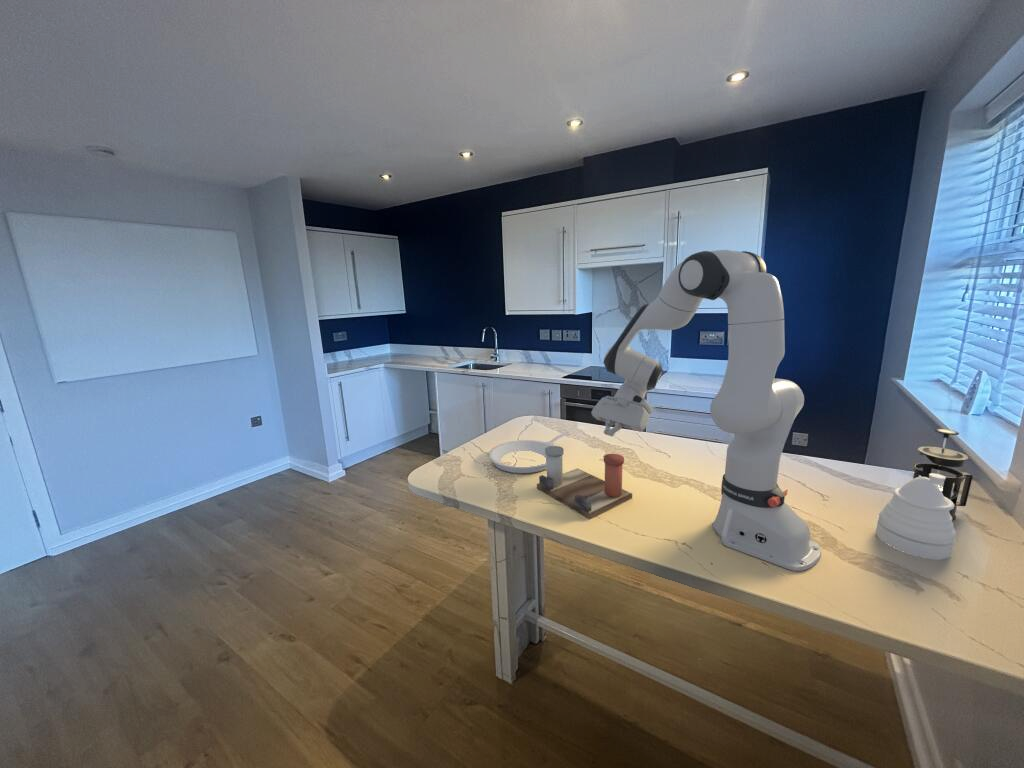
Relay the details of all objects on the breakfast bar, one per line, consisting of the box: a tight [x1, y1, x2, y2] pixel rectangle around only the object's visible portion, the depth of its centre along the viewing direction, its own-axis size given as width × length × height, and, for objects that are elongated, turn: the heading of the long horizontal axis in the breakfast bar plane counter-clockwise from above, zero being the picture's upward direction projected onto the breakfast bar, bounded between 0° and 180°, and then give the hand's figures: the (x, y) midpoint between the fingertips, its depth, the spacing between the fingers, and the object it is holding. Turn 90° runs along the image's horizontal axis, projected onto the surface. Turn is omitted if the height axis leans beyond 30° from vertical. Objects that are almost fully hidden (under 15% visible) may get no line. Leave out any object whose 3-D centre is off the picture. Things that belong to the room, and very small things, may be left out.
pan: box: [488, 431, 571, 475], centre depth 153 cm, size 26×39×5 cm
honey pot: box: [875, 472, 957, 560], centre depth 93 cm, size 13×13×18 cm
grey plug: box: [545, 445, 565, 486], centre depth 126 cm, size 6×6×11 cm
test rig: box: [536, 468, 633, 520], centre depth 124 cm, size 23×18×4 cm
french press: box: [912, 428, 973, 522], centre depth 105 cm, size 12×9×23 cm
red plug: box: [603, 453, 625, 497], centre depth 119 cm, size 6×6×11 cm
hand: (607, 434), depth 132 cm, fingers closed
